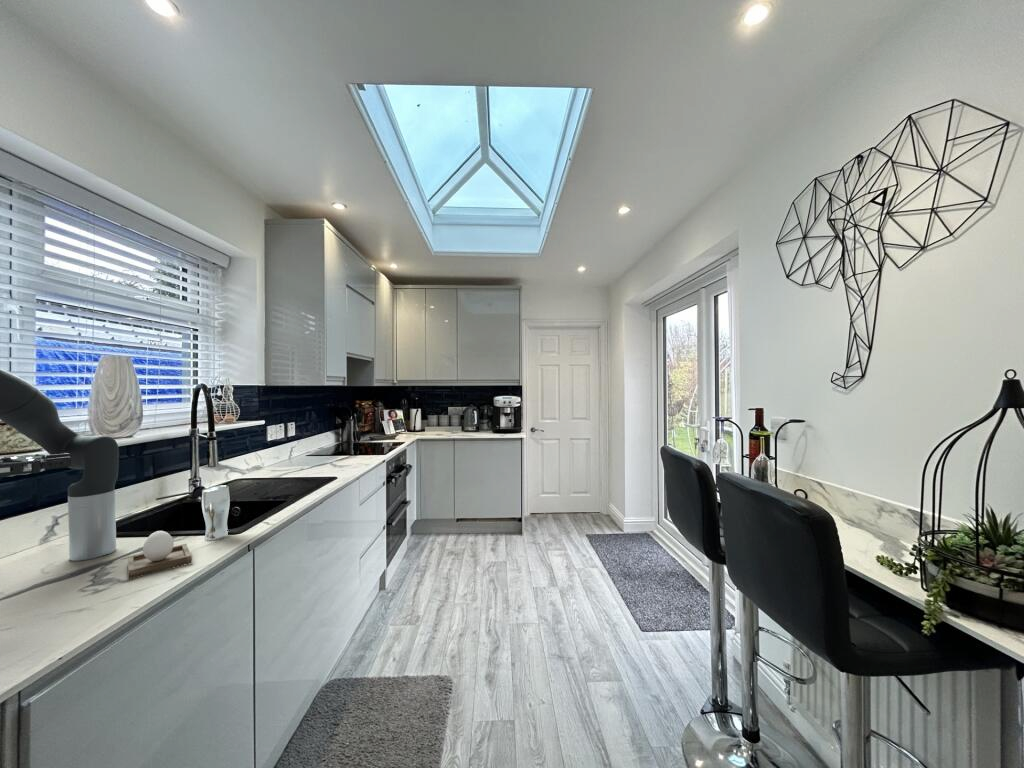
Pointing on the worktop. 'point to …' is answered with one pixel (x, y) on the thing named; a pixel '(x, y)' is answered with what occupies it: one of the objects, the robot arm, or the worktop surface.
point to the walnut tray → (158, 562)
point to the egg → (158, 546)
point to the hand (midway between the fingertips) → (70, 459)
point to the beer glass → (215, 511)
